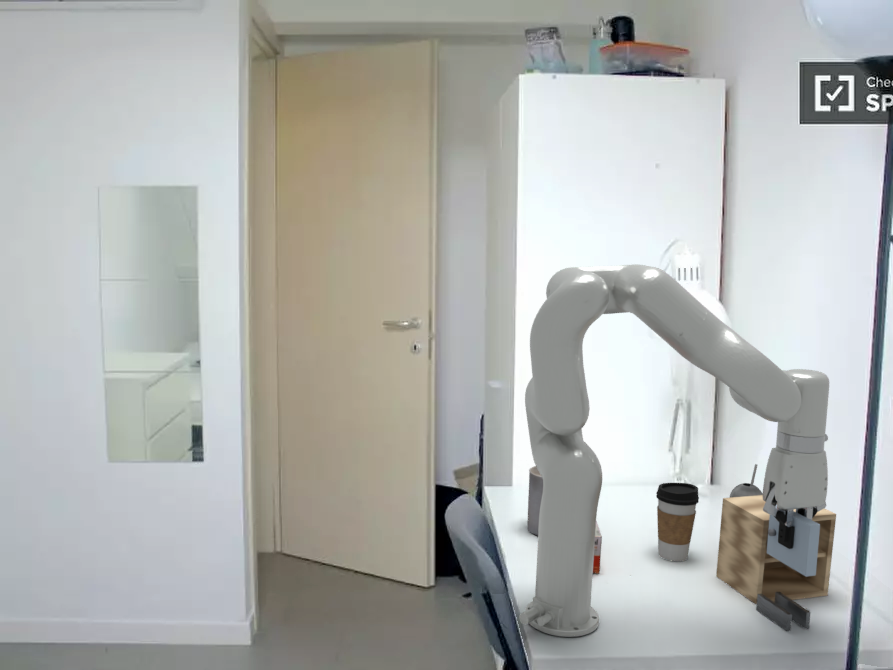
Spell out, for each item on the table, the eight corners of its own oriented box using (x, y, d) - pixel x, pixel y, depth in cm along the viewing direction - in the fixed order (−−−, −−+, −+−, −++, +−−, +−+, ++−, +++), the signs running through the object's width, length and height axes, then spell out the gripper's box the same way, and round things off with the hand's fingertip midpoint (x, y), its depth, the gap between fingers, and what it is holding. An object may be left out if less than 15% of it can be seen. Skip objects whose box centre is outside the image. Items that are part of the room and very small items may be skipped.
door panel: (815, 575, 138) (820, 524, 137) (801, 577, 137) (806, 526, 136) (775, 552, 147) (779, 504, 146) (762, 553, 147) (766, 505, 145)
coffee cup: (695, 566, 165) (701, 494, 163) (652, 561, 167) (658, 490, 164) (692, 550, 173) (697, 482, 171) (651, 545, 175) (656, 478, 173)
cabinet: (827, 595, 154) (836, 514, 152) (755, 604, 149) (763, 520, 147) (784, 569, 165) (791, 492, 163) (716, 576, 160) (722, 498, 158)
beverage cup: (727, 546, 176) (735, 456, 173) (763, 554, 172) (772, 462, 170) (719, 557, 170) (728, 464, 167) (756, 566, 166) (765, 471, 163)
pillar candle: (569, 523, 186) (572, 459, 184) (571, 540, 176) (574, 472, 174) (526, 521, 187) (529, 457, 185) (526, 537, 177) (529, 470, 175)
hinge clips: (808, 628, 141) (810, 612, 140) (786, 631, 139) (788, 614, 139) (777, 607, 148) (779, 591, 148) (756, 609, 147) (757, 594, 147)
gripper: (822, 433, 145) (813, 532, 148) (746, 439, 141) (739, 541, 143) (854, 445, 138) (845, 548, 141) (776, 451, 133) (767, 558, 136)
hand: (791, 544), depth 142 cm, fingers closed on door panel, 2 cm apart
